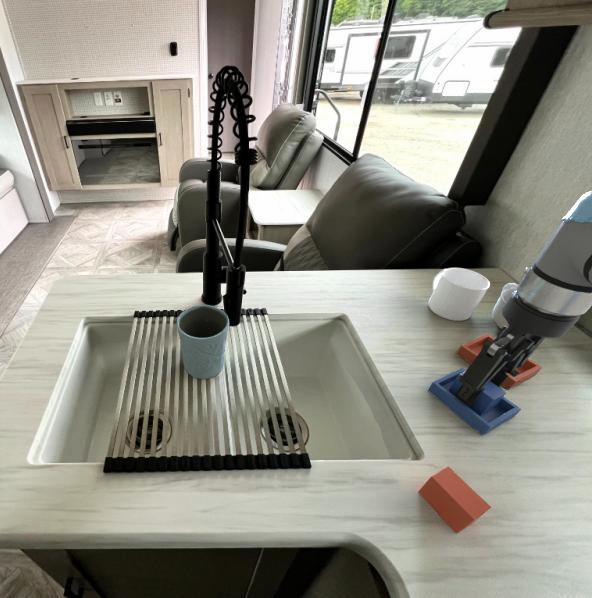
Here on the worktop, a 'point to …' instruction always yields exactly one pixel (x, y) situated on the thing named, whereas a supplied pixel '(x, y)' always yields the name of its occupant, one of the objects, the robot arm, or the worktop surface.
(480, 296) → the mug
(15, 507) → the worktop surface
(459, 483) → the rust bar
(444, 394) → the tray blue
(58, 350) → the worktop surface
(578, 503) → the worktop surface
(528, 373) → the tray rust
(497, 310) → the teacup
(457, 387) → the blue rectangular block
